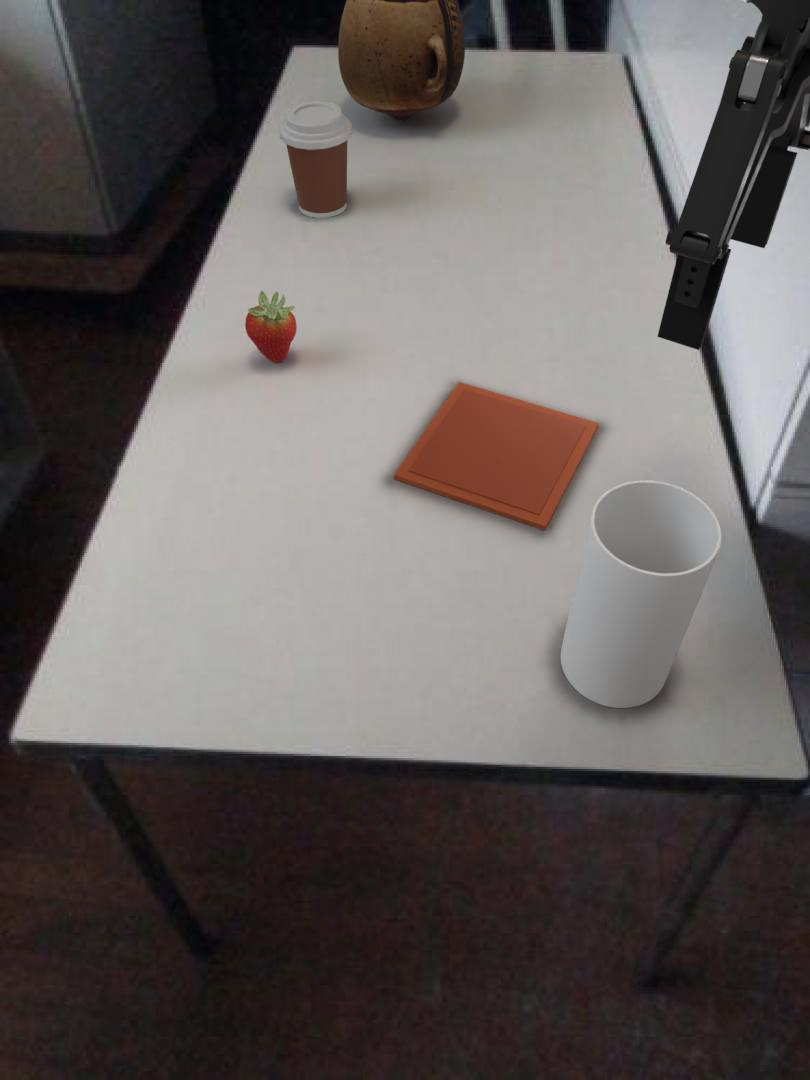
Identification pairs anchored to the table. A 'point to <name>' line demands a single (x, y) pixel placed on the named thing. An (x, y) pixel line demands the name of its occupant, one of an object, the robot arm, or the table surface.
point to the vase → (401, 53)
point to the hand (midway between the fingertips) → (715, 287)
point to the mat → (499, 454)
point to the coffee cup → (318, 156)
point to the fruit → (271, 327)
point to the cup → (637, 590)
